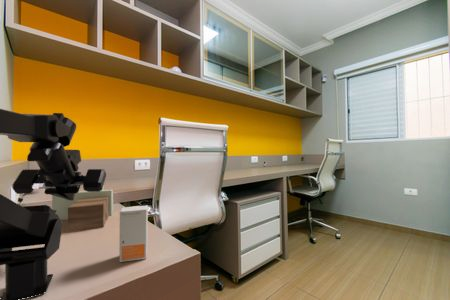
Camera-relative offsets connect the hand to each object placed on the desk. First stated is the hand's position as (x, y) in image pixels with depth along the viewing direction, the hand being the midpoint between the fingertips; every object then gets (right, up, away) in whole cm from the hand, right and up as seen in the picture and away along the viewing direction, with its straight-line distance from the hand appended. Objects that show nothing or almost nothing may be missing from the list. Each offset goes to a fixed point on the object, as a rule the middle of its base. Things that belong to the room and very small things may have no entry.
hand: (72, 198), depth 60 cm
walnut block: (-5, -13, +17) cm, 22 cm away
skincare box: (+21, -13, -8) cm, 26 cm away
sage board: (-13, -13, +24) cm, 30 cm away
